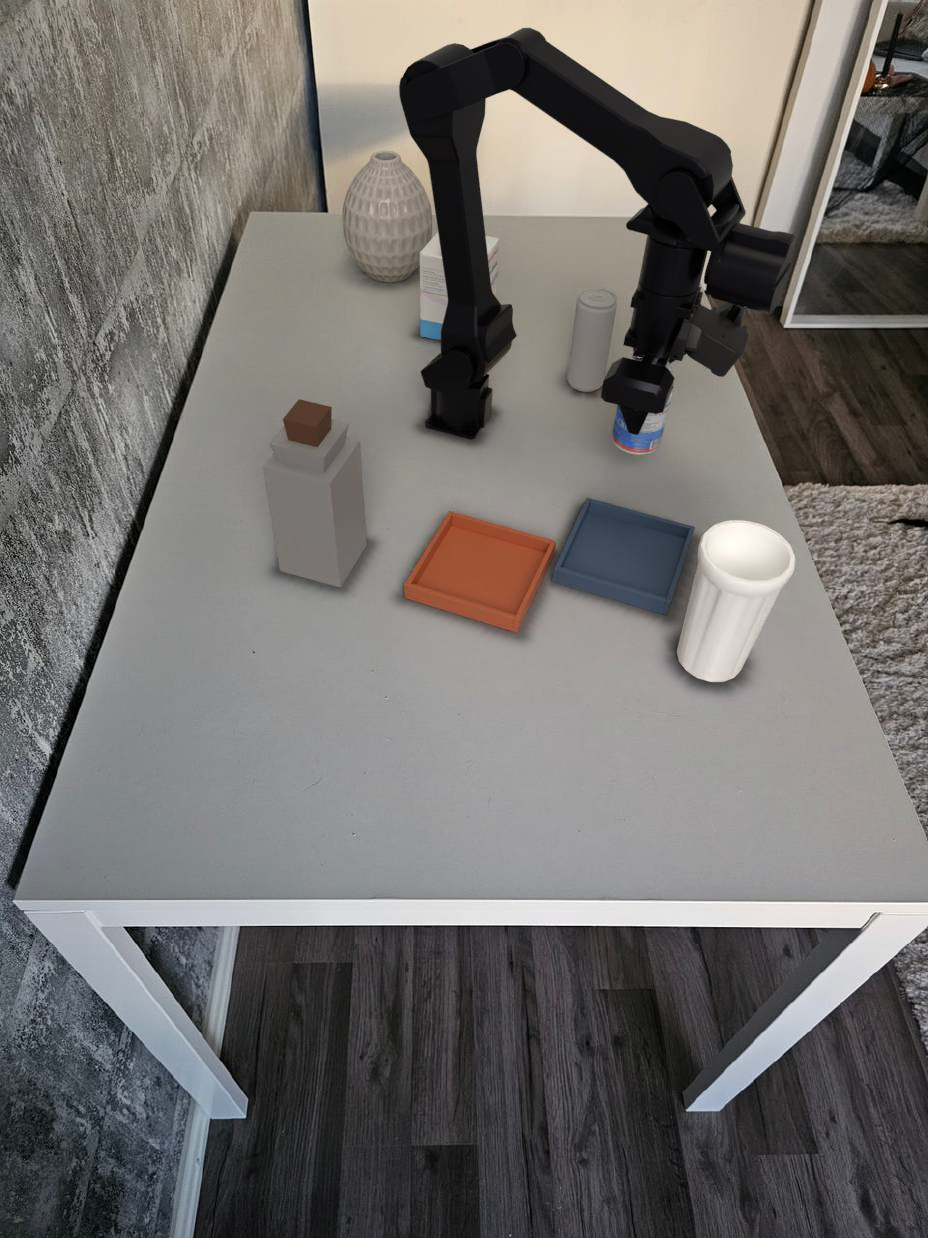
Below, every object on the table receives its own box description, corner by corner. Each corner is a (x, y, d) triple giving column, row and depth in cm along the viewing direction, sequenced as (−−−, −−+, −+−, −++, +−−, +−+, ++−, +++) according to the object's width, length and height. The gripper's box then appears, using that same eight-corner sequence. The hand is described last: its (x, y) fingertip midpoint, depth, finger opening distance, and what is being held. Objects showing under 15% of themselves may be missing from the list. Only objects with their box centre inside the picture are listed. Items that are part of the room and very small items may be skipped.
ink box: (477, 348, 122) (481, 252, 112) (418, 336, 124) (418, 240, 114) (496, 317, 128) (502, 223, 118) (440, 306, 129) (441, 212, 119)
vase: (344, 253, 139) (337, 137, 127) (428, 251, 140) (428, 136, 128) (346, 295, 130) (338, 175, 118) (435, 293, 132) (437, 174, 119)
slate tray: (552, 581, 93) (554, 568, 92) (584, 510, 101) (587, 497, 99) (666, 615, 90) (670, 602, 89) (691, 539, 98) (695, 526, 97)
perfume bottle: (366, 544, 96) (357, 400, 83) (340, 587, 92) (325, 442, 78) (308, 529, 97) (290, 384, 84) (279, 570, 93) (255, 425, 80)
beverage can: (601, 396, 116) (616, 309, 107) (563, 390, 116) (575, 303, 107) (605, 375, 119) (619, 289, 110) (568, 370, 119) (580, 284, 110)
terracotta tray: (404, 597, 91) (404, 584, 90) (449, 523, 99) (449, 510, 97) (517, 633, 88) (518, 620, 87) (554, 554, 96) (556, 540, 94)
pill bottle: (606, 427, 102) (620, 349, 95) (653, 425, 102) (671, 349, 95) (616, 457, 98) (631, 379, 91) (665, 456, 99) (684, 378, 92)
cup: (733, 706, 83) (778, 599, 72) (652, 668, 86) (684, 560, 75) (763, 649, 88) (809, 541, 77) (685, 615, 91) (720, 506, 80)
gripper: (736, 350, 79) (696, 489, 90) (768, 257, 91) (729, 390, 102) (612, 321, 81) (588, 461, 93) (659, 234, 93) (633, 368, 105)
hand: (640, 418), depth 98 cm, fingers closed on pill bottle, 5 cm apart
